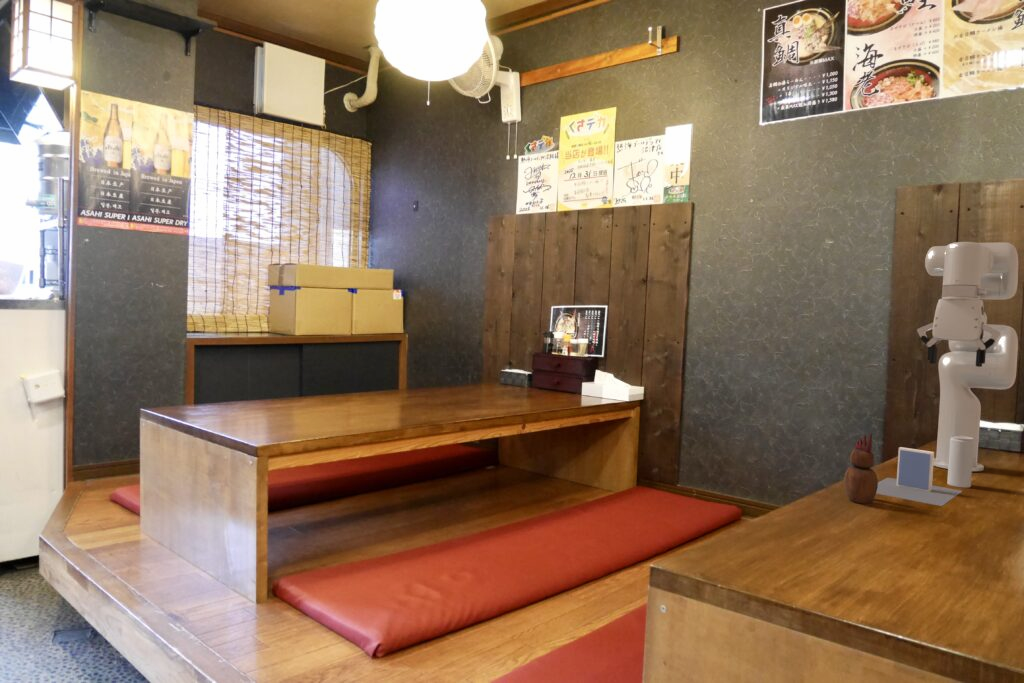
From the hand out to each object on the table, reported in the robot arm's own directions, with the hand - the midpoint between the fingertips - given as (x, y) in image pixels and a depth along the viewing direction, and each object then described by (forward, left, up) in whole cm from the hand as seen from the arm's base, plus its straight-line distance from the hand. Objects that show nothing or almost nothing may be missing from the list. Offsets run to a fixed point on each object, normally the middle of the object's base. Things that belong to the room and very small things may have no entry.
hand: (955, 364), depth 170 cm
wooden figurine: (+35, -9, -29) cm, 47 cm away
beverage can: (0, +2, -29) cm, 29 cm away
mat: (+16, -4, -29) cm, 34 cm away
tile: (+13, -4, -29) cm, 32 cm away
